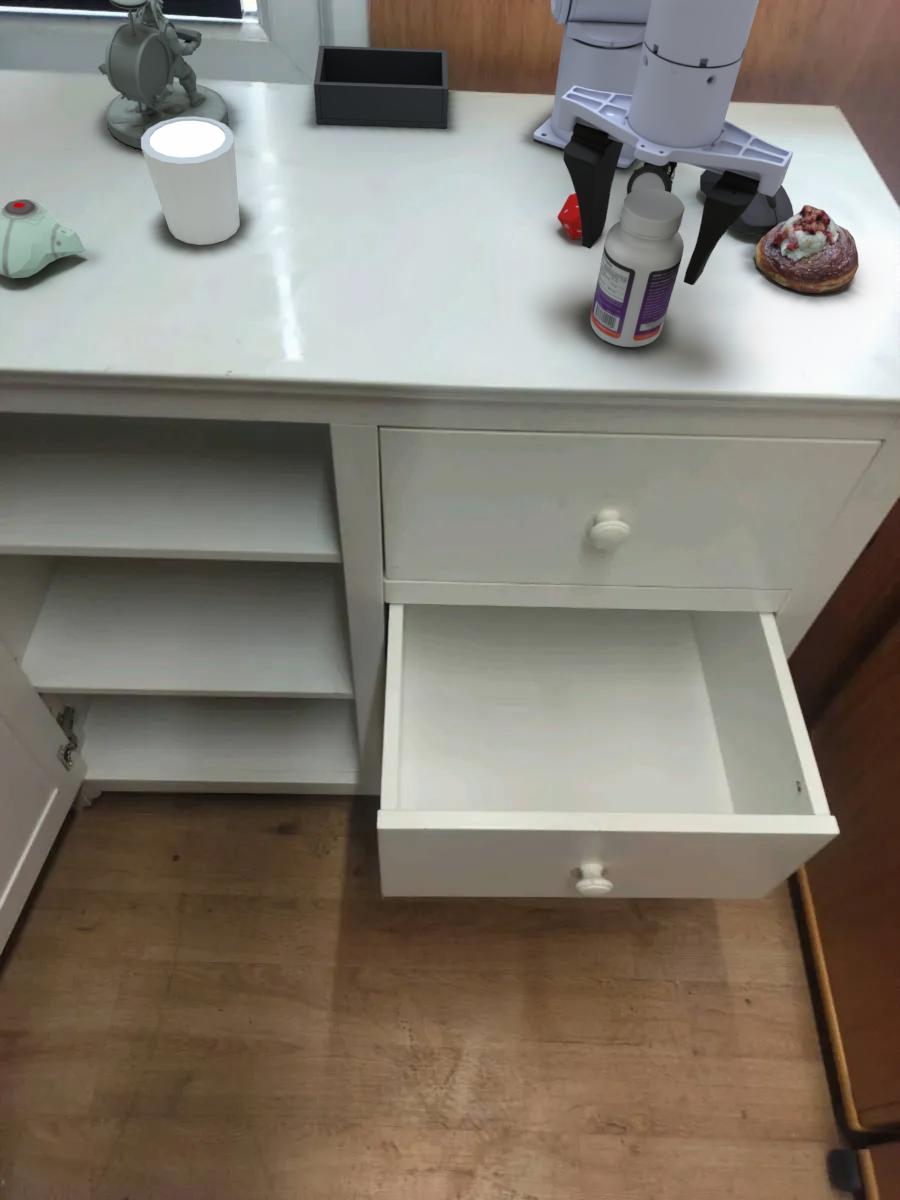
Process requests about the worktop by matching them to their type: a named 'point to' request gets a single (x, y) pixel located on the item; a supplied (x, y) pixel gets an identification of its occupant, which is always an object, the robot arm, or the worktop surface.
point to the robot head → (32, 239)
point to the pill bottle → (638, 269)
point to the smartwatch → (652, 177)
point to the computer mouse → (755, 208)
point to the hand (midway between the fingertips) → (641, 258)
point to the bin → (381, 86)
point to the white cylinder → (194, 177)
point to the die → (571, 217)
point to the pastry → (808, 253)
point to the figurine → (153, 73)
